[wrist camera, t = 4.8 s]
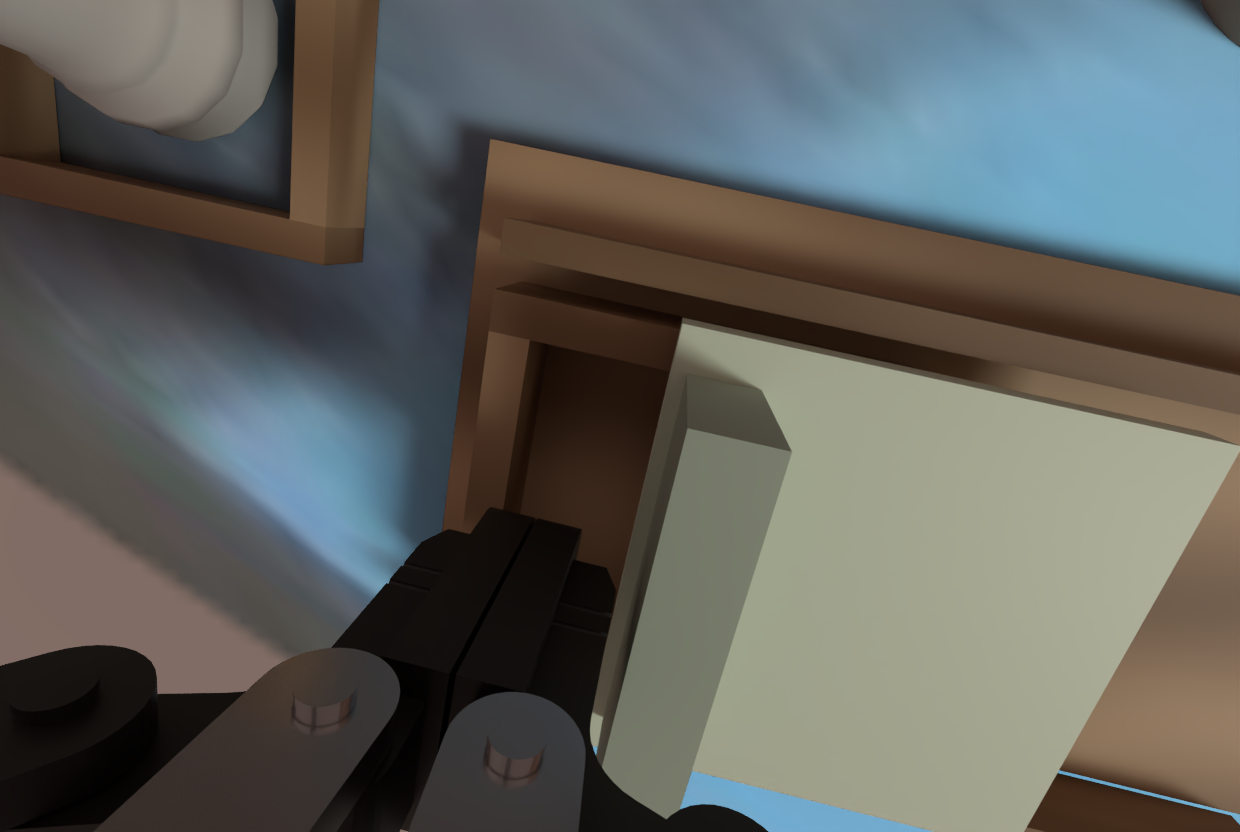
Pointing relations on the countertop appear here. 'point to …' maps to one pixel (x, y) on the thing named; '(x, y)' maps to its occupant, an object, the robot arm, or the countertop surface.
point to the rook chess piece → (154, 57)
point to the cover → (881, 581)
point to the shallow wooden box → (867, 327)
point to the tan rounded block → (1225, 17)
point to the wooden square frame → (312, 231)
